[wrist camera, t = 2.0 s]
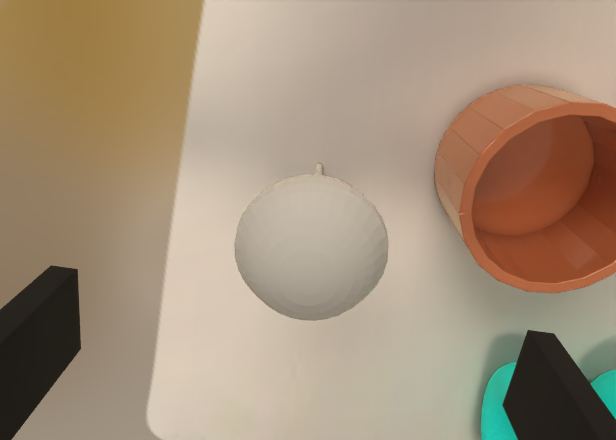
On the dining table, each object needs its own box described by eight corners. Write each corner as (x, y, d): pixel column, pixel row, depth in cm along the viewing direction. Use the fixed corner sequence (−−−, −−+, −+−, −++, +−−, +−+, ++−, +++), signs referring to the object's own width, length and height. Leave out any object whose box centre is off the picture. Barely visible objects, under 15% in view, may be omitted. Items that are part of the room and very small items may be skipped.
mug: (424, 234, 33) (447, 287, 27) (446, 80, 29) (478, 97, 23) (630, 246, 33) (704, 302, 26) (678, 91, 29) (778, 112, 23)
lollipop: (275, 213, 33) (233, 355, 19) (264, 123, 31) (208, 208, 17) (370, 207, 32) (398, 347, 19) (366, 115, 30) (394, 196, 16)
